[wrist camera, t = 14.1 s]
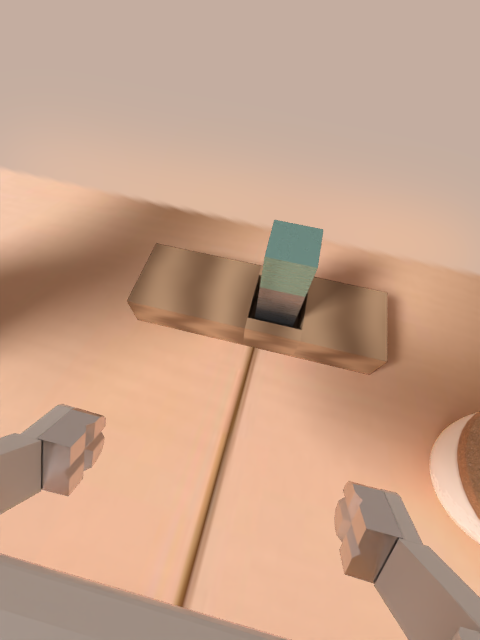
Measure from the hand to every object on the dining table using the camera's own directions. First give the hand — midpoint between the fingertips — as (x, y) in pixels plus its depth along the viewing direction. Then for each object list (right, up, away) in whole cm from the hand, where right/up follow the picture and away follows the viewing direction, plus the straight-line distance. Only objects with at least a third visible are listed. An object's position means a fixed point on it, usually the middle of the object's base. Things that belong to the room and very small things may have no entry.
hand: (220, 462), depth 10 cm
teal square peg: (+4, +5, +24) cm, 25 cm away
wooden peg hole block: (+3, +5, +24) cm, 25 cm away
